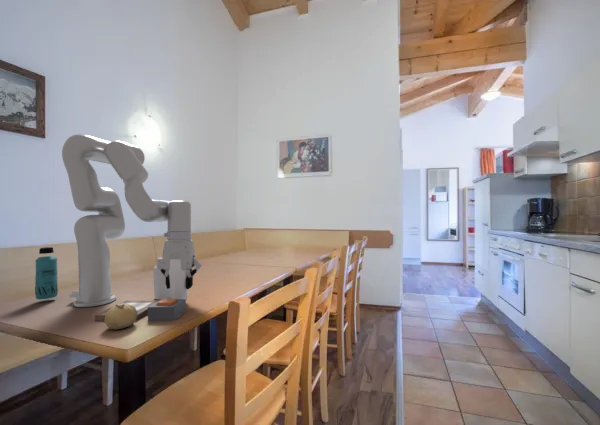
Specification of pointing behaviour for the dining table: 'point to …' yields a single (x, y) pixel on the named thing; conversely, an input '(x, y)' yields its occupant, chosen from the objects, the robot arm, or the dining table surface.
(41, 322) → the dining table surface
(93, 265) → the robot arm
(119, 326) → the onion
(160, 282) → the pill bottle
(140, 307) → the pallet
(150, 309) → the button housing
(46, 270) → the beverage bottle
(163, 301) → the button
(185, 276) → the drinking glass
